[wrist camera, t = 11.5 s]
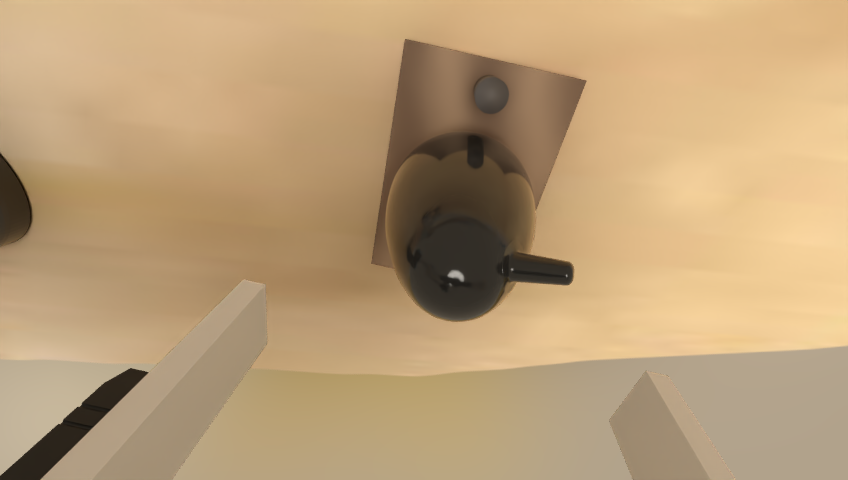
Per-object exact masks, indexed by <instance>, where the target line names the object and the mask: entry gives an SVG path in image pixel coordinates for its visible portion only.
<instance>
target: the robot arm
mask: <svg viewBox="0 0 848 480" xmlns="http://www.w3.org/2000/svg"><path fill="white" fill-rule="evenodd" d="M29 224H30V209H29V205H28V201H27V198H26V195H25V193H24V191H23V189H22V187H21V185H20V183H19V181H18V179H17V178H16V176H15V175H14V173H13V172H12V170H11V169H10V168H9V166H8V165H7V164H6V162H5V161H4V160H3V159H2V158H1V156H0V247H1V246H4V245H6V244H9V243H12V242H14V241H16V240H18V239H20V238H21V237H23V235H24V234H25V233H26V232H27V230H28V227H29ZM266 344H267V314H266V284H262V283H258V282H253V281H249V280H244V279H243V280H242V281H241V282H240V283H239V284H238V285H237V286H236V287H235V288H234V289H233V290H232V291H231V292H230V293H229V294H228V295H227V296H226V297H225V298H224V299H223V300H222V301H221V302H220V303H219V304H218V305H217V306H216V307H215V308H214V309H213V310H212V311H211V312H210V313H209V314H208V315H207V316H206V317H205V318H204V319H203V320H202V321H201V322H200V323H199V324H198V325H197V326H196V327H195V328H193V329H192V330H191V331H190V332H189V333H188V334H187V335H186V336H185V337H184V338H183V339H182V340H181V341H180V342H179V343H178V344H177V345H176V346H175V347H174V348H173V349H172V350H171V351H170V352H169V353H168V354H167V355H166V356H165V357H164V358H163V359H162V360H161V361H160V362H159V363H158V364H157V365H156V366H155V367H154V368H153V369H152V370H151V371H150V372H145V371H141V370H136V369H132V368H130V369H128V370H127V371H125V372H123V373H121V374H119V375H118V376H116V377H114V378H112V379H111V380H109V381H107V382H105V383H104V384H103V385H101V386H100V387H99V388H98V389H97V390H96V391H95V392H94V393H93V394H91V395H90V396H89V397H88V398H87V399H86V400H85V401H84V402H83V403H82V405H81V406H80V407H77V408H76V409H75V410H74V411H72V412H71V413H70V414H69V415H68V416H67V417H66V418H65V419H64V420H63V422H62V423H61V424H58V425H57V426H56V427H55V428H54V429H52V430H51V431H50V432H49V433H48V434H47V435H46V436H44V437H43V438H42V439H41V440H40V441H39V442H38V443H37V444H36V445H34V446H33V447H32V448H31V449H30V450H29V451H28V452H27V453H25V454H24V455H23V456H22V457H21V458H20V459H19V460H18V461H16V462H15V463H14V464H13V465H12V466H11V467H10V468H9V469H8V470H6V471H5V472H4V473H3V474H2V475H1V476H0V480H172V479H173V478H174V476H175V475H176V473H177V472H178V470H179V469H180V467H181V466H182V464H183V463H184V462H185V460H186V459H187V458H188V456H189V454H190V453H191V452H192V450H193V449H194V447H195V446H196V445H197V443H198V442H199V440H200V439H201V437H202V436H203V435H204V433H205V432H206V430H207V429H208V427H209V426H210V425H211V423H212V422H213V420H214V419H215V417H216V415H217V414H218V413H219V412H220V410H221V409H222V407H223V406H224V404H225V403H226V401H227V400H228V399H229V397H230V396H231V394H232V393H233V391H234V390H235V389H236V387H237V386H238V384H239V383H240V382H241V380H242V379H243V377H244V375H245V374H246V373H247V372H248V370H249V369H250V367H251V366H252V364H253V363H254V362H255V360H256V359H257V357H258V356H259V354H260V353H261V351H262V350H263V349H264V347H265V346H266ZM609 422H610V424H611V427H612V429H613V432H614V434H615V437H616V439H617V442H618V444H619V446H620V449H621V451H622V454H623V456H624V459H625V461H626V464H627V466H628V469H629V471H630V474H631V476H632V479H633V480H736V479H735V477H734V476H733V474H732V473H731V471H730V470H729V468H728V467H727V465H726V464H725V462H724V461H723V459H722V457H721V456H720V455H719V453H718V451H717V450H716V448H715V447H714V445H713V444H712V442H711V441H710V439H709V438H708V436H707V434H706V433H705V431H704V430H703V428H702V427H701V425H700V424H699V422H698V421H697V419H696V418H695V416H694V415H693V413H692V412H691V410H690V408H689V407H688V405H687V404H686V402H685V401H684V399H683V398H682V396H681V395H680V393H679V392H678V390H677V389H676V387H675V385H674V384H673V382H672V381H671V379H670V378H669V376H667V375H662V374H658V373H654V372H649V371H645V373H644V374H643V375H642V377H641V378H640V379H639V381H638V382H637V383H636V385H635V386H634V388H633V389H632V390H631V392H630V393H629V394H628V396H627V397H626V398H625V400H624V401H623V402H622V404H621V405H620V406H619V408H618V409H617V410H616V412H615V413H614V414H613V416H612V417H611V418H610V420H609Z"/></svg>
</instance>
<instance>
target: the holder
mask: <svg viewBox="0 0 848 480" xmlns="http://www.w3.org/2000/svg"><path fill="white" fill-rule="evenodd" d="M585 84H586V80H581V79H577V78H573V77H568V76H564V75H560V74H555V73H551V72H547V71H542V70H538V69H534V68H529V67H525V66H520V65H516V64H512V63H507V62H503V61H499V60H494V59H490V58H486V57H481V56H477V55H473V54H468V53H464V52H459V51H455V50H451V49H446V48H442V47H438V46H433V45H429V44H425V43H420V42H416V41H411V40H407V39H405V43H404V49H403V56H402V63H401V69H400V76H399V83H398V89H397V96H396V103H395V109H394V116H393V123H392V129H391V136H390V143H389V149H388V156H387V163H386V169H385V176H384V183H383V189H382V196H381V203H380V209H379V216H378V223H377V229H376V236H375V243H374V249H373V256H372V263H371V264H376V265H380V266H384V267H388V268H393V269H394V267H393V264H392V261H391V258H390V254H389V251H388V246H387V240H386V231H385V216H386V206H387V200H388V196H389V191H390V187H391V184H392V181H393V179H394V176H395V174H396V172H397V170H398V168H399V167H400V165H401V164H402V162H403V161H404V159H405V158H406V157H407V156H408V155H409V154H410V153H411V152H412V151H413V150H414V149H415V148H416V147H417V146H419V145H420V144H422V143H423V142H425V141H427V140H429V139H431V138H433V137H435V136H438V135H441V134H445V133H450V132H474V133H479V134H482V135H486V136H488V137H491V138H493V139H495V140H497V141H499V142H500V143H502V144H503V145H505V146H506V147H507V148H508V149H510V150H511V151H512V152H513V153H514V154H515V155H516V157H517V158H518V159H519V160H520V162H521V163H522V165H523V166H524V168H525V170H526V172H527V174H528V177H529V179H530V182H531V185H532V189H533V194H534V201H535V211H536V209H537V206H538V204H539V201H540V198H541V196H542V193H543V191H544V188H545V186H546V183H547V181H548V178H549V175H550V173H551V170H552V168H553V165H554V163H555V160H556V158H557V155H558V152H559V150H560V147H561V145H562V142H563V140H564V137H565V135H566V132H567V130H568V127H569V124H570V122H571V119H572V117H573V114H574V112H575V109H576V107H577V104H578V101H579V99H580V96H581V94H582V91H583V89H584V86H585Z"/></svg>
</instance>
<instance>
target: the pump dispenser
mask: <svg viewBox="0 0 848 480" xmlns="http://www.w3.org/2000/svg"><path fill="white" fill-rule="evenodd" d="M535 223H536V213H535V201H534V194H533V189H532V185H531V182H530V179H529V177H528V174H527V172H526V170H525V168H524V166H523V165H522V163H521V162H520V160H519V159H518V158H517V157H516V155H515V154H514V153H513V152H512V151H511V150H510V149H508V148H507V147H506V146H505V145H503V144H502V143H500V142H499V141H497V140H495V139H493V138H491V137H488V136H486V135H482V134H479V133H474V132H450V133H445V134H441V135H438V136H435V137H433V138H431V139H429V140H427V141H425V142H423V143H422V144H420V145H419V146H417V147H416V148H415V149H414V150H413V151H412V152H411V153H410V154H409V155H408V156H407V157H406V158H405V159H404V161H403V162H402V164H401V165H400V167H399V168H398V170H397V172H396V174H395V176H394V179H393V181H392V184H391V187H390V191H389V196H388V200H387V206H386V216H385V231H386V240H387V246H388V251H389V254H390V258H391V261H392V264H393V267H394V270H395V272H396V275H397V277H398V279H399V281H400V283H401V285H402V287H403V288H404V290H405V291H406V293H407V294H408V296H409V297H410V298H411V299H412V300H413V302H414V303H415V304H416V305H417V306H418V307H420V308H421V309H422V310H423V311H425V312H426V313H428V314H430V315H431V316H433V317H436V318H438V319H441V320H445V321H451V322H464V321H470V320H474V319H477V318H480V317H482V316H484V315H486V314H488V313H489V312H491V311H492V310H494V309H495V308H496V307H497V306H499V305H500V304H501V303H502V302H503V301H504V300H505V299H506V298H507V296H508V295H509V294H510V293H511V291H512V290H513V288H514V286H515V285H516V283H517V282H525V283H539V284H553V285H570V284H571V283H572V281H573V279H574V266H573V265H572V263H570V262H568V261H562V260H557V259H552V258H546V257H541V256H535V255H530V252H531V248H532V244H533V239H534V233H535Z"/></svg>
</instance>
